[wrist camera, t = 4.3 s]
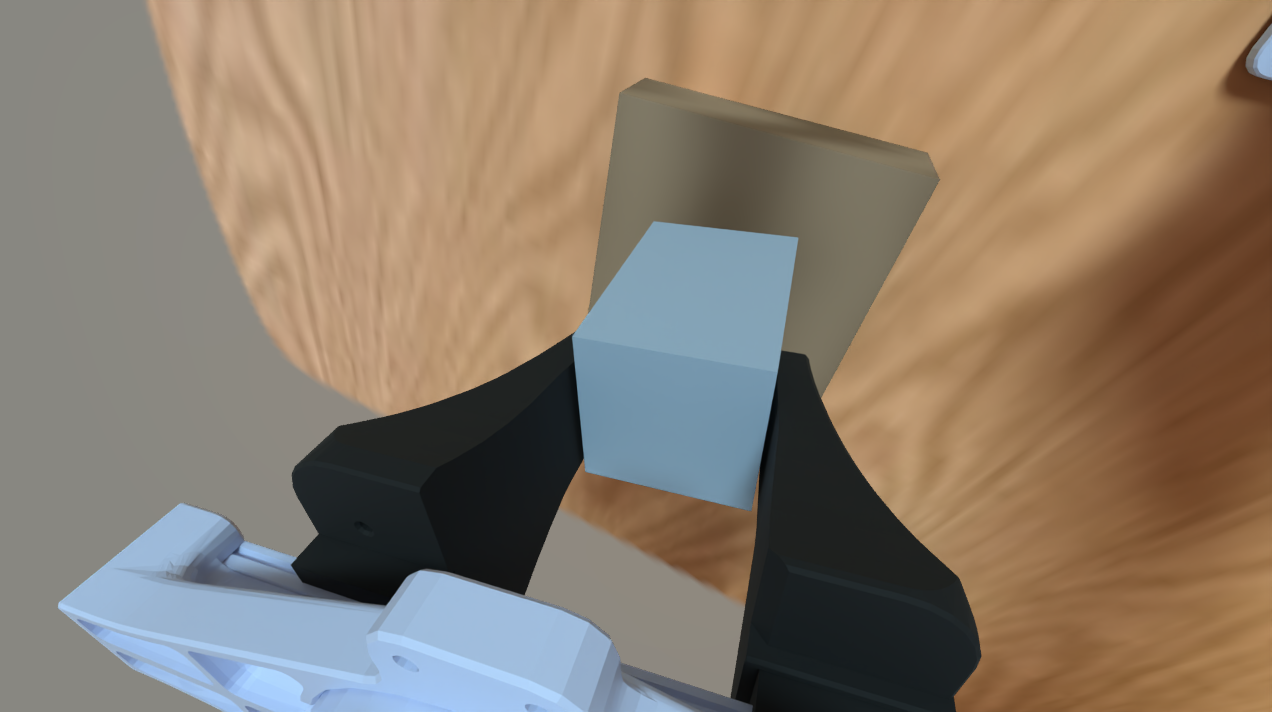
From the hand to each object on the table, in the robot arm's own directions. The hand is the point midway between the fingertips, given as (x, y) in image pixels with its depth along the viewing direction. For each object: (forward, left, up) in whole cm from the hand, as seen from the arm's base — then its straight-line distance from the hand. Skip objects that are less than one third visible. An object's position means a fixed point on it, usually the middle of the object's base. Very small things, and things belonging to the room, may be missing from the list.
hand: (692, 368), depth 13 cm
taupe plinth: (0, 0, -8) cm, 8 cm away
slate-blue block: (0, 0, -3) cm, 3 cm away
